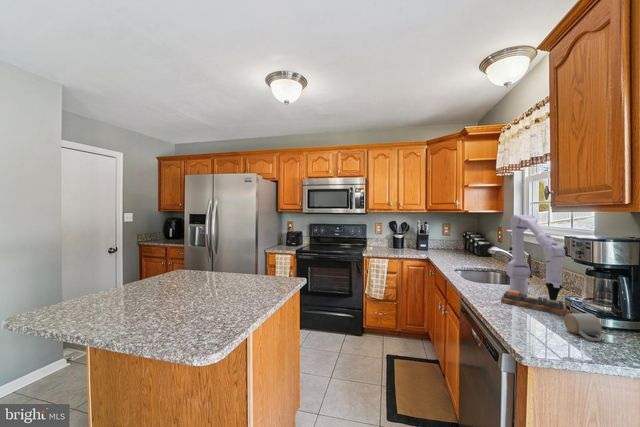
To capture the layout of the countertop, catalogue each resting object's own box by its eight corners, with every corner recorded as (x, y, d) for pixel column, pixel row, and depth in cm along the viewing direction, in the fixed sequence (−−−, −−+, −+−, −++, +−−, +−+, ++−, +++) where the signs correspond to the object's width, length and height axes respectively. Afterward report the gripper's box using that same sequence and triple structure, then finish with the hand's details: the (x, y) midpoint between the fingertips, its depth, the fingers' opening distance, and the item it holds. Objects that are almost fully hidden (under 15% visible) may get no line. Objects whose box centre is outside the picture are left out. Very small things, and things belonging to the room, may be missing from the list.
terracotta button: (507, 295, 136) (508, 291, 136) (509, 293, 139) (509, 289, 139) (518, 297, 133) (518, 293, 133) (519, 295, 137) (519, 291, 137)
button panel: (501, 302, 135) (501, 294, 135) (504, 296, 144) (504, 289, 144) (565, 315, 119) (566, 306, 119) (565, 308, 128) (565, 300, 128)
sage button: (546, 304, 126) (546, 299, 126) (546, 302, 130) (546, 297, 130) (559, 307, 123) (559, 302, 123) (558, 304, 127) (559, 299, 127)
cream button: (526, 301, 131) (526, 296, 131) (527, 298, 135) (527, 294, 135) (538, 303, 128) (538, 298, 128) (538, 301, 132) (538, 296, 132)
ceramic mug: (561, 328, 106) (562, 309, 106) (584, 329, 105) (585, 310, 105) (584, 342, 96) (585, 320, 95) (610, 343, 95) (611, 322, 95)
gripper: (540, 266, 134) (539, 293, 135) (545, 272, 122) (544, 302, 123) (559, 268, 131) (558, 296, 131) (566, 274, 118) (565, 305, 119)
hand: (552, 299), depth 126 cm, fingers closed
